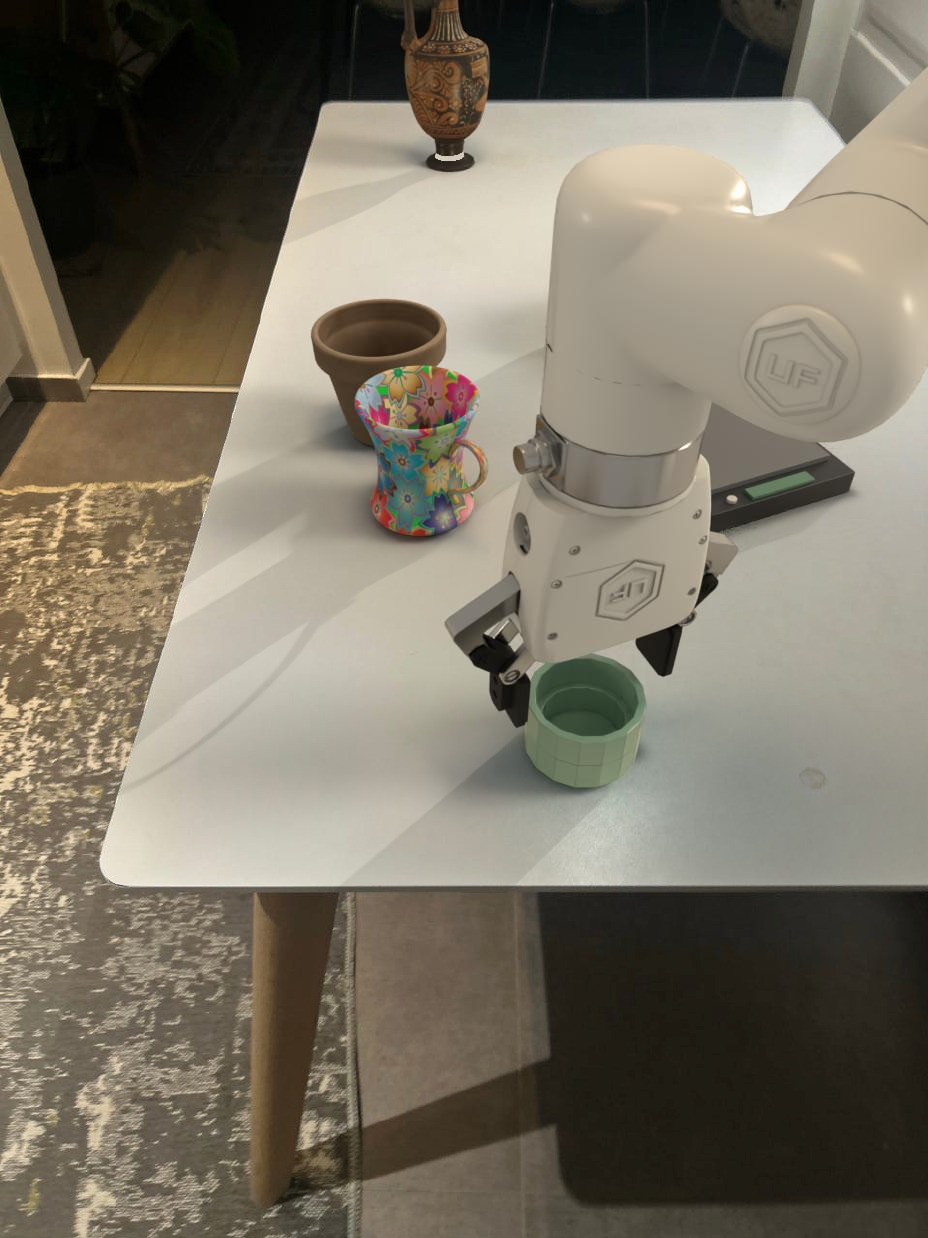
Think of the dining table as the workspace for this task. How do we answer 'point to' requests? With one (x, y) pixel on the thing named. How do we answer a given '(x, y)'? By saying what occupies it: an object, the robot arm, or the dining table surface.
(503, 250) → the dining table surface
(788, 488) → the scale
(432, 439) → the mug
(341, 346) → the flower pot
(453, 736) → the dining table surface
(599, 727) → the bowl
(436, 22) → the vase
